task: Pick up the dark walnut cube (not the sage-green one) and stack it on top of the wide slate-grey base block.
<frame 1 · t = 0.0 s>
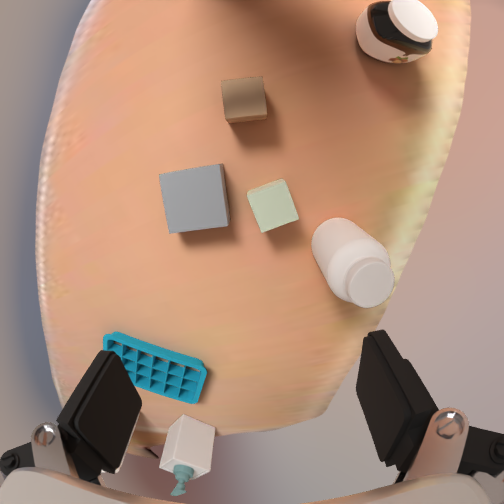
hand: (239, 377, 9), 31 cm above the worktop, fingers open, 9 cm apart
sage cube: (271, 201, 39), on the worktop
spread jar: (383, 35, 29), on the worktop
soap bottle: (191, 427, 56), on the worktop
pill bottle: (335, 241, 41), on the worktop
base block: (198, 195, 39), on the worktop
ice cube tray: (155, 362, 49), on the worktop
walnut cube: (245, 104, 34), on the worktop
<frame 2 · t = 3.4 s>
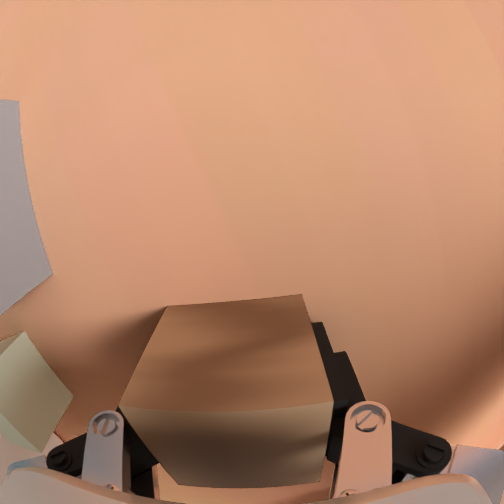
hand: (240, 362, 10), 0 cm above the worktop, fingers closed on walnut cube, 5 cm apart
sage cube: (31, 368, 12), on the worktop
pill bottle: (38, 429, 16), on the worktop
walnut cube: (241, 353, 11), on the worktop, touching gripper
when the fingers open (5 cm above the worktop, at t = 7.8 s): walnut cube drops 1 cm, resting on base block.
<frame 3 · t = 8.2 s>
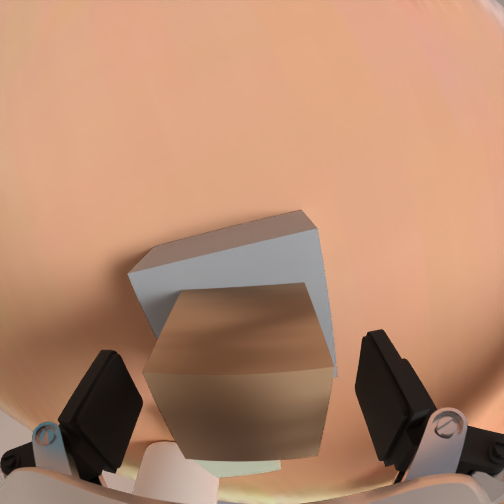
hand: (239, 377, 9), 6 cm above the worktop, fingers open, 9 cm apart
sage cube: (235, 409, 19), on the worktop
pill bottle: (183, 456, 22), on the worktop
base block: (244, 293, 16), on the worktop, touching walnut cube
walnut cube: (247, 336, 12), point 4 cm above the worktop, touching base block
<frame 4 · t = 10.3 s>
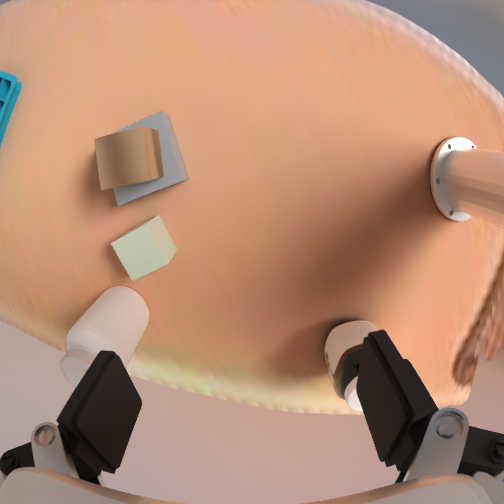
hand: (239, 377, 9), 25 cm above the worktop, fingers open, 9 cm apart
sage cube: (151, 240, 33), on the worktop
spread jar: (356, 342, 40), on the worktop
pill bottle: (125, 307, 37), on the worktop
base block: (149, 158, 30), on the worktop, touching walnut cube
walnut cube: (139, 157, 27), point 4 cm above the worktop, touching base block
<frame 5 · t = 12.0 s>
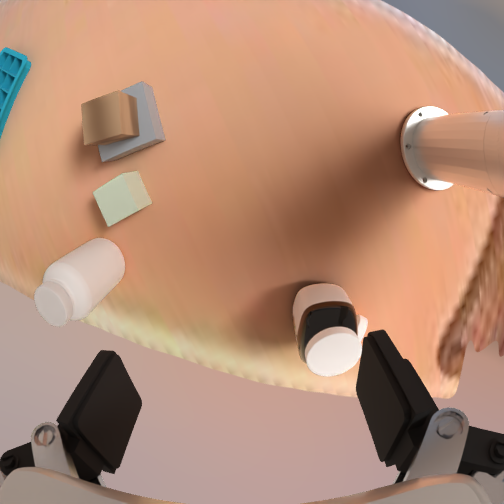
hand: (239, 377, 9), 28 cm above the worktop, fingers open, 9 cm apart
sage cube: (130, 194, 35), on the worktop
spread jar: (327, 310, 41), on the worktop
pill bottle: (105, 260, 39), on the worktop
base block: (133, 123, 32), on the worktop, touching walnut cube
ice cube tray: (2, 101, 29), on the worktop
walnut cube: (120, 121, 28), point 4 cm above the worktop, touching base block
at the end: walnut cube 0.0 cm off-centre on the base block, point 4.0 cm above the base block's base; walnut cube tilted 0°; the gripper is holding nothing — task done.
